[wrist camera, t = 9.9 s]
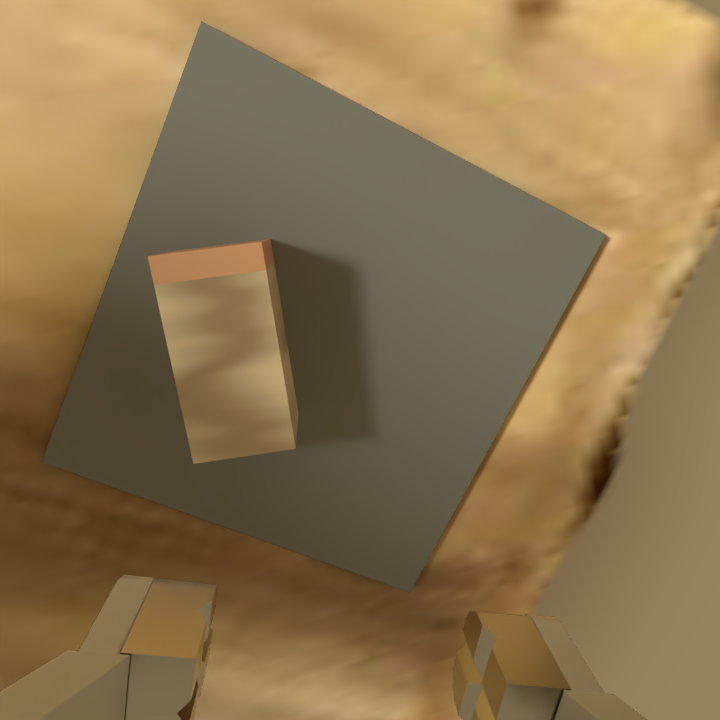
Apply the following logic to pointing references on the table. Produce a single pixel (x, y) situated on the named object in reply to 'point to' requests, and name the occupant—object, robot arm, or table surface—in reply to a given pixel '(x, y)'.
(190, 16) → the table surface
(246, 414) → the maple block
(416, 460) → the rubber mat
